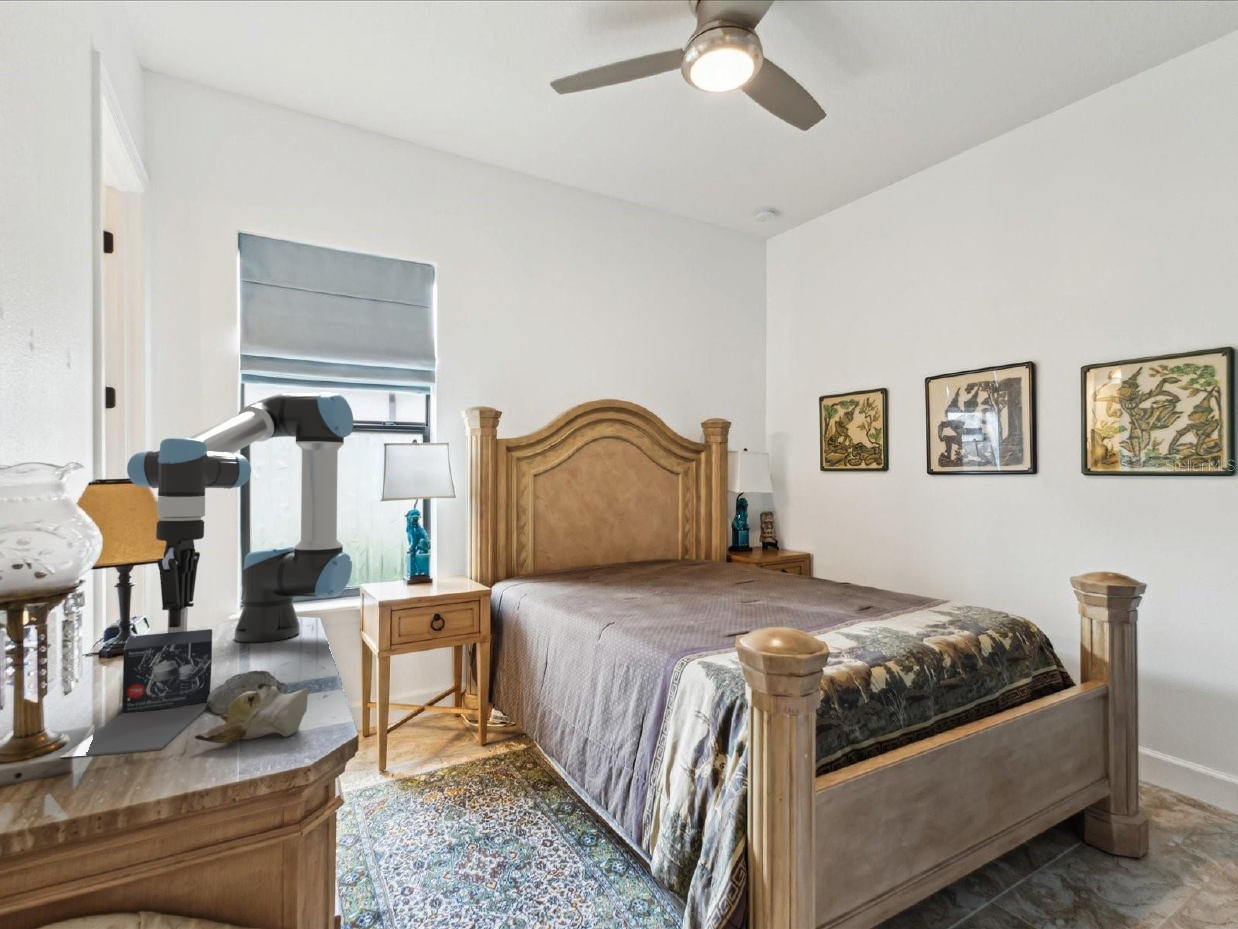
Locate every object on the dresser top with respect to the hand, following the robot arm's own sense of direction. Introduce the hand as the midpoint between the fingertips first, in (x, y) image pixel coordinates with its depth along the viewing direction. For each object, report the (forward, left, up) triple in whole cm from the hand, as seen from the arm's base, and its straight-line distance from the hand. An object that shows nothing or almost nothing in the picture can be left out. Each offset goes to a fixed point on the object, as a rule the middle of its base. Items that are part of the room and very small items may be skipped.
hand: (177, 643), depth 119 cm
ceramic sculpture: (+24, +21, -11) cm, 33 cm away
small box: (+3, 0, -10) cm, 11 cm away
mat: (+17, +2, -10) cm, 20 cm away
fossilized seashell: (+7, +15, -11) cm, 20 cm away
